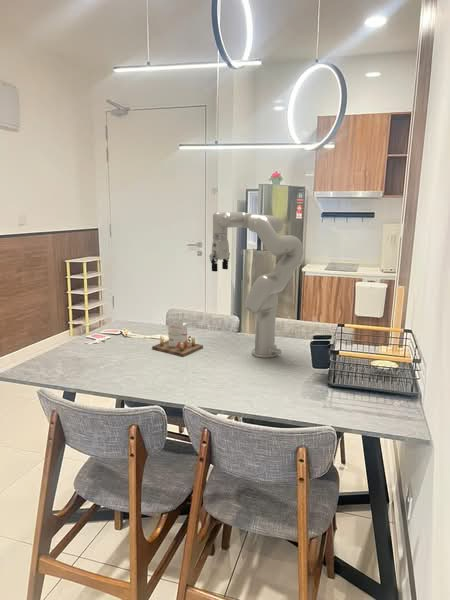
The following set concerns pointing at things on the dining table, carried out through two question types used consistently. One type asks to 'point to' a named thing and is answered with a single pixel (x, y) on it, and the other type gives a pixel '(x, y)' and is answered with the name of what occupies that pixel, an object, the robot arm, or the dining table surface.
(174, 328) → the ink cartridge box
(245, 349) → the dining table surface
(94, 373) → the dining table surface
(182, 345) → the brass pins
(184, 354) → the walnut plate
